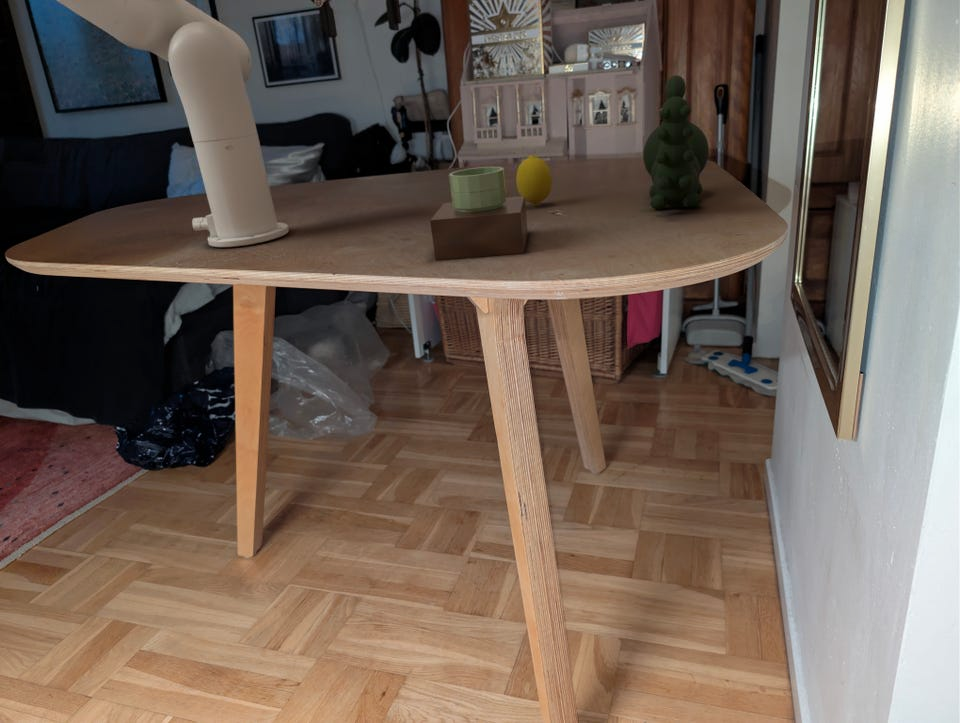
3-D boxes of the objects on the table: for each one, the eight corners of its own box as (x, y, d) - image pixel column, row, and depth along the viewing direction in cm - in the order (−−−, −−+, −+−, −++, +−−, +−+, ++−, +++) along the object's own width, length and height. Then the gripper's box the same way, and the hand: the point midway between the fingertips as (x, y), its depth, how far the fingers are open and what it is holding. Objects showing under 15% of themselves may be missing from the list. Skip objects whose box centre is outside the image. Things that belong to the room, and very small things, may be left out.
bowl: (450, 215, 86) (445, 178, 85) (457, 204, 93) (453, 169, 91) (504, 210, 86) (501, 172, 84) (508, 200, 92) (505, 164, 90)
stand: (435, 260, 87) (429, 220, 85) (448, 239, 97) (443, 203, 95) (523, 253, 85) (520, 212, 83) (527, 232, 95) (524, 195, 93)
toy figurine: (712, 231, 92) (706, 180, 113) (716, 77, 83) (708, 54, 104) (638, 234, 95) (646, 184, 116) (635, 86, 86) (643, 61, 107)
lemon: (531, 202, 116) (527, 152, 113) (559, 203, 112) (556, 151, 109) (511, 209, 112) (507, 157, 109) (540, 210, 109) (536, 157, 105)
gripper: (410, -105, 99) (424, 28, 106) (294, -89, 102) (316, 40, 109) (397, -117, 92) (414, 26, 99) (274, -99, 95) (298, 39, 102)
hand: (362, 33), depth 104 cm, fingers open, 9 cm apart
